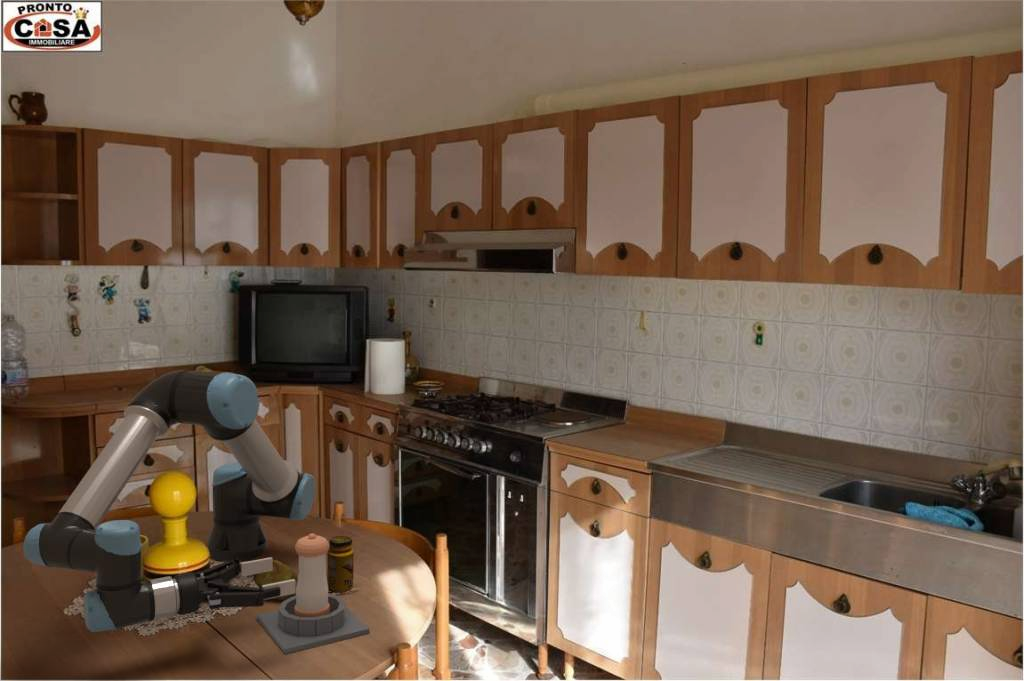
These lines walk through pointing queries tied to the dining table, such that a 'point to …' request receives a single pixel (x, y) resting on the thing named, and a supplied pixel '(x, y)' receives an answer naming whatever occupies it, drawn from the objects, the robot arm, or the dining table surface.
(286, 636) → the collar stand
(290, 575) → the potato
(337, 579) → the condiment
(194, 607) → the robot arm
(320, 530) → the dining table surface
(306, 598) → the salt shaker
